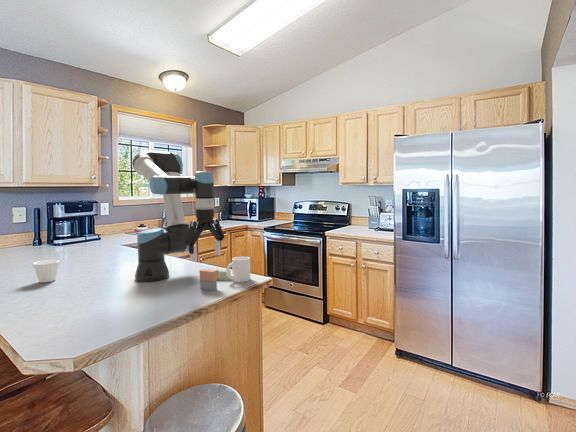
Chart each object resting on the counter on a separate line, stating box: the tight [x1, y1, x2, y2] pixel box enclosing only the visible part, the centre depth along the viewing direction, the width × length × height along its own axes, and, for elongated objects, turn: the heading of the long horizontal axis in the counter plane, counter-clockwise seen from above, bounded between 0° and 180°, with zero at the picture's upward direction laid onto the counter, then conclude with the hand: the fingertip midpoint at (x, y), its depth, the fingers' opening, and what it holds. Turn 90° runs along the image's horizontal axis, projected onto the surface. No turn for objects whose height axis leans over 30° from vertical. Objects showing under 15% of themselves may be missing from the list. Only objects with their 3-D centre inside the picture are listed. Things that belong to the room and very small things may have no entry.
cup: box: [32, 259, 60, 284], centre depth 149 cm, size 10×10×9 cm
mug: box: [225, 255, 251, 283], centre depth 147 cm, size 12×8×10 cm
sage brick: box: [216, 268, 232, 281], centre depth 151 cm, size 7×4×4 cm, turn 77°
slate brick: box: [199, 279, 218, 292], centre depth 136 cm, size 7×4×4 cm, turn 49°
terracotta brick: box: [199, 268, 219, 281], centre depth 136 cm, size 7×4×4 cm, turn 67°
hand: (206, 258), depth 136 cm, fingers open, 13 cm apart
